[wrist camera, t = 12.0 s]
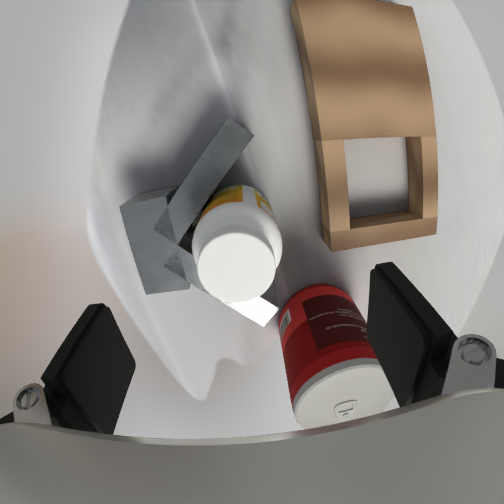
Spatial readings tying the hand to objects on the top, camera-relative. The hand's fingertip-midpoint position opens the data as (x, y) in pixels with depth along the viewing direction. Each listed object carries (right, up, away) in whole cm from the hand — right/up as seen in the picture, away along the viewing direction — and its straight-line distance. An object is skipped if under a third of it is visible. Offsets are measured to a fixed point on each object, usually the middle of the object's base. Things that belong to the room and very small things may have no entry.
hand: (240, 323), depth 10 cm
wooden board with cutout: (+10, +13, +11) cm, 20 cm away
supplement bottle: (-1, +5, +14) cm, 15 cm away
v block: (-4, +5, +14) cm, 15 cm away
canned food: (+7, -4, +18) cm, 20 cm away
